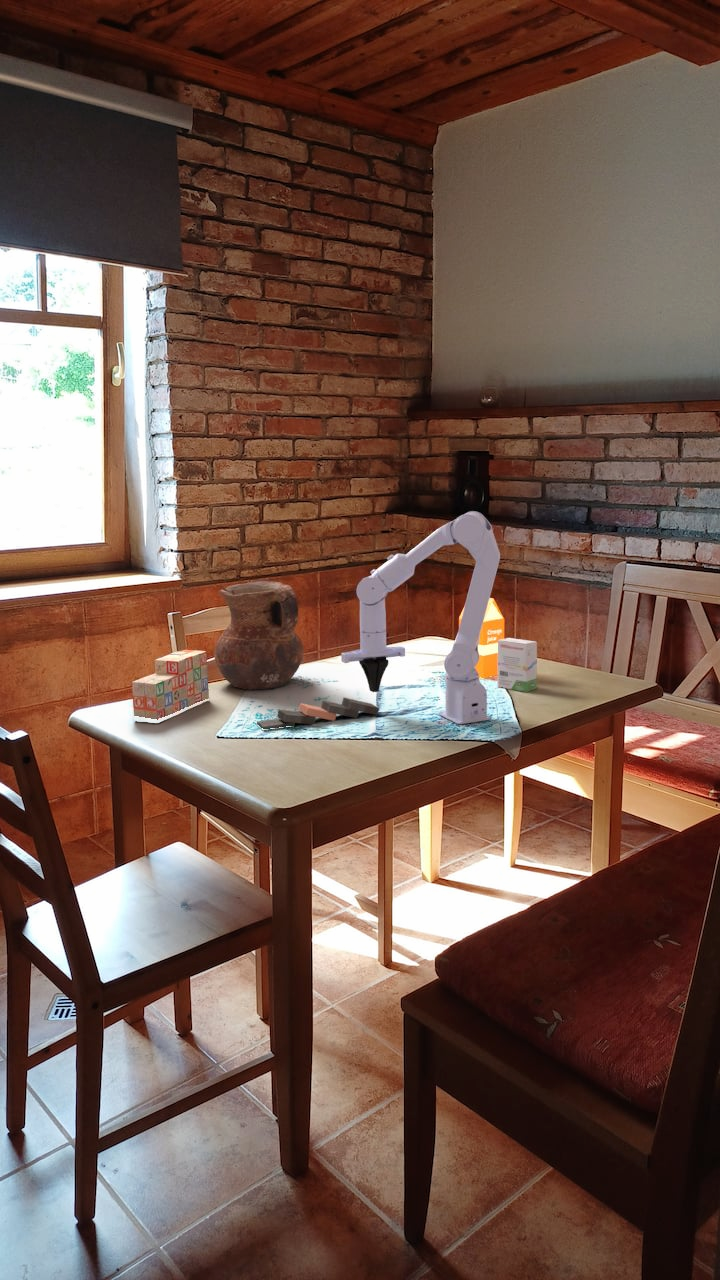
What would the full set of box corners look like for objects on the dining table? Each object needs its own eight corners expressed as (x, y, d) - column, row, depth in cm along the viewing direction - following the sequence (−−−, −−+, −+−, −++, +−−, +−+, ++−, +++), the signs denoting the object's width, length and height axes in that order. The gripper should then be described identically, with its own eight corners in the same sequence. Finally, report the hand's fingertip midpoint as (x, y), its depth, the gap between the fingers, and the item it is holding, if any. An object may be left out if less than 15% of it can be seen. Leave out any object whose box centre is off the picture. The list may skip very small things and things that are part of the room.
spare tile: (336, 713, 212) (308, 707, 208) (334, 720, 212) (306, 715, 208) (328, 709, 215) (300, 703, 212) (326, 716, 215) (298, 710, 212)
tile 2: (358, 711, 213) (330, 705, 210) (357, 718, 213) (328, 712, 210) (351, 706, 217) (323, 700, 214) (349, 713, 217) (321, 707, 214)
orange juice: (479, 668, 257) (479, 593, 253) (504, 674, 250) (505, 596, 247) (458, 673, 252) (458, 596, 249) (483, 679, 246) (483, 600, 242)
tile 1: (379, 708, 215) (351, 702, 212) (377, 715, 215) (349, 709, 212) (371, 703, 219) (343, 697, 216) (369, 710, 219) (341, 704, 216)
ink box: (537, 688, 235) (538, 640, 233) (526, 692, 232) (526, 644, 229) (508, 683, 241) (508, 636, 238) (496, 687, 237) (496, 639, 235)
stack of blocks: (157, 725, 211) (154, 670, 209) (133, 723, 214) (130, 668, 211) (209, 701, 231) (207, 650, 228) (187, 699, 233) (184, 648, 231)
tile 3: (315, 717, 209) (286, 714, 206) (314, 724, 209) (284, 721, 206) (307, 712, 213) (278, 709, 210) (306, 719, 213) (277, 716, 210)
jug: (205, 693, 237) (200, 591, 233) (228, 673, 258) (224, 579, 253) (295, 694, 234) (291, 591, 229) (311, 674, 255) (308, 579, 250)
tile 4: (294, 722, 208) (263, 726, 205) (295, 729, 208) (263, 734, 205) (287, 717, 212) (256, 721, 209) (288, 724, 212) (257, 728, 209)
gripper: (395, 624, 220) (396, 683, 223) (335, 630, 215) (337, 690, 217) (409, 629, 214) (409, 690, 216) (347, 636, 208) (349, 698, 211)
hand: (374, 691), depth 216 cm, fingers closed
